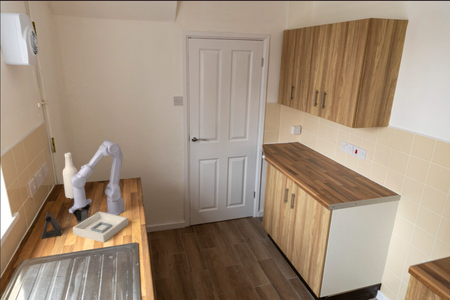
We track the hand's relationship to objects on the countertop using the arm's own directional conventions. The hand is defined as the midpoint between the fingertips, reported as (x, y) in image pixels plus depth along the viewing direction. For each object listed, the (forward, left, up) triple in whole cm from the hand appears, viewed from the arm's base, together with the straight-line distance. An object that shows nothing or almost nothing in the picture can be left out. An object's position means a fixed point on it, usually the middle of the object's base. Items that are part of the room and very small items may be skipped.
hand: (82, 219), depth 173 cm
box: (+2, +15, -2) cm, 15 cm away
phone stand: (+16, -5, -2) cm, 17 cm away
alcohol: (-24, -31, -2) cm, 39 cm away
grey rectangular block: (0, 0, -2) cm, 2 cm away
